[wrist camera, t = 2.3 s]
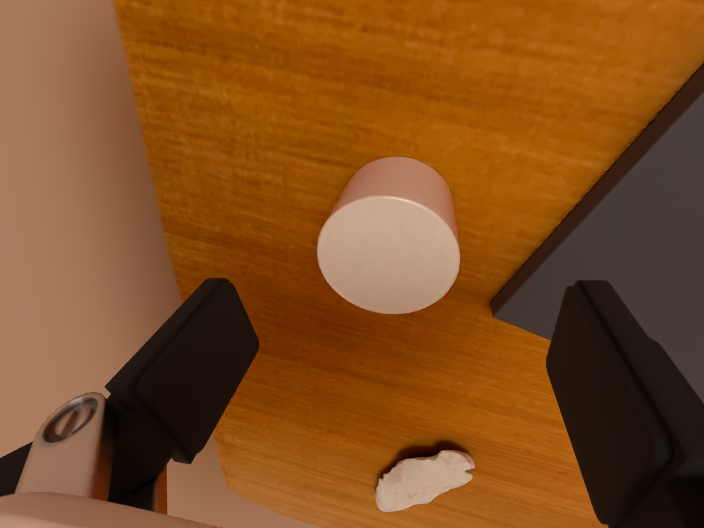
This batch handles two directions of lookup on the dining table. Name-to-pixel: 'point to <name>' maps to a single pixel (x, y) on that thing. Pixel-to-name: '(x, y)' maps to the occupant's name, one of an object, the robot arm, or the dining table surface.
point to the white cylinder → (391, 238)
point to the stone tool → (422, 479)
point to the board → (634, 240)
